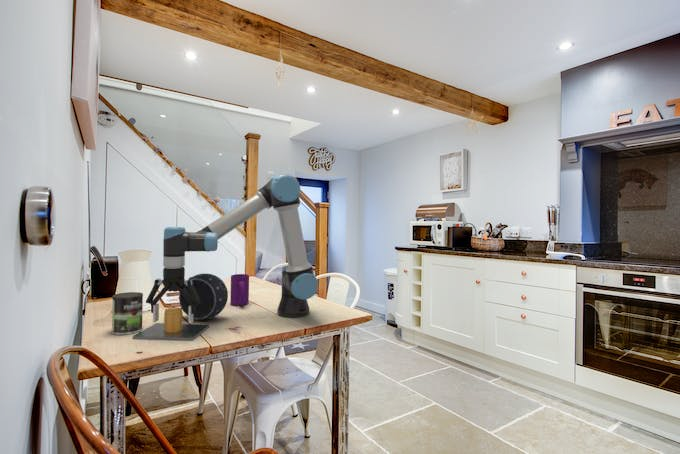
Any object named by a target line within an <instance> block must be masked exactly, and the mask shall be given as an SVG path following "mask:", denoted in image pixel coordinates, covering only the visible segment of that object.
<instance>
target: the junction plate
mask: <svg viewBox="0 0 680 454" xmlns="http://www.w3.org/2000/svg"><path fill="white" fill-rule="evenodd" d="M209 328H210V324H200V323H199V324H198V323H197V324H196V323H182V330H181V331H179V332H174V333H167V332H165V331H164V322H163V323H162V322H161V323H160V322H154V323H153V324H152V325H150V326H148V327H147V328H145V329H142V330H141V331H139V332H136V333H135V334H134V335H132V339H133V340H155V341H156V340H157V341H159V340H160V341H188V342H189V341H190V342H192V341H195V339H197V338H198V337H200V335H202V334H203V333H204V332H205V331H206V330H208V329H209Z"/></svg>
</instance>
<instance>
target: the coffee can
mask: <svg viewBox="0 0 680 454" xmlns="http://www.w3.org/2000/svg"><path fill="white" fill-rule="evenodd" d="M143 296H144V293H143V292H139V291H138V292H135V291H130V292H120V293H116V294H113V295H112V296H111V298H112V309H111V311H112V316H111V317H112V321H111V325H112V327H111V334H113V335H118V336H121V335H122V336H124V335H132V334H137V333H139V332H141V331H143V309H144V308H143V305H144V304H143V301H144V300H143Z"/></svg>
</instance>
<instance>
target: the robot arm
mask: <svg viewBox="0 0 680 454" xmlns="http://www.w3.org/2000/svg"><path fill="white" fill-rule="evenodd" d="M300 194H301V185H300V183H299V180H297V178H296V177H294V176H293V175H291V174H285V173H284V174H278V175H276V176H275V177H273V178H271V179H270V180H269V181H268V182H266V184H264V185H263V186H262V187H261V188H259V189H258V190H256V192H255V195H252V196H251V197H249V198H248V199H247V200H245V201H243V202H242V203H240V204H239V205H237V206H236V207H234V208H232V209H231V210H229V211H228V212H226V213H225V214H223V215H222V216H220V217H218V218H217V219H216V220H214V221H212V222H210V223H209V224H208V225H206V226H205V227H203V228H202V229H200V230H198V231H197V232H193V231H192V232H190V231H189V232H188V231H187V230H186V228H185V227H183V226H180V227H179V226H167V227H165V228H164V229H163V244H162V245H163V254H162V255H163V261H162V263H163V264H162V266H163V267H164V268H163V269H162V270H163V271H162V278H163V279H161V278H157V279H155V280H154V282H153V283H154V284H153V287H152V288H151V290H150V293H149V294H148V296H147V298H146V300H145V304H150V313H151V314H152V323H157V322H159V320H160V318H159V317H160V313H159V312H160V304H159V303H158V302H159V301H160V300H161V298H162V297H164V295H166V293H167V292H177V293H179V294H180V293H181V294H182V295H183V296H184V298H185V299H186V300H187V301H188V303H189V304H190V306H189V312H188V316H187V317H188V323H187V324H192V323H193V322H194V319H193V314H195V312H196V305H197V304H199V303H201V300H200V298H199V296H198V294H197V292H196V290H195V288H194V285H193V280H192V279H191V280H188V279H187V280H186V279H185V276H186V275H185V274H186V273H185V272H186V271H185V270H186V268H185V267H184V266H185V265H186V259H185V257H186V254H185V253H186V252H188V253H189V252H207V253H209V252H215V251H217V250H218V242H219V241H218V240H219V239H221V238H223V237H225V236H226V235H227V234H229V233H230V232H232V231H234V230H235V229H236V228H238V227H239V226H241V225H243V224H244V223H245V222H247V221H248V220H250V219H252V218H254V217H255V216H256V215H257V214H259V213H260V212H262V211H263V210H266V209H270V208H273V210H274V211H275V212H277V214H278V220H279V225H280V230H281V234H282V240H283V245H284V249H285V255H286V259H287V264H288V265H283V267H282V268H281V298H280V300H279V303H278V307H277V313H276V314H277V315H278V316H280V317H283V318H292V319H293V318H302V317H306V316H308V315H309V314H310V306H309V302H308V300H309V299H311V298H313V297H314V296H315V295H316V294H317V291H318V288H319V281H318V279H317V277H316V275H315V274H314V269H313V264H311V263H310V262H309V261H308V255H307V250H306V245H305V241H304V234H303V230H302V224H301V219H300V213H299V207H300V205H301V202H300ZM184 284H186V285H187V286H188V289H189V291H190V293H191V295H192V297H193V298H192V297H191V295H190V294H189V293H188V292H187V290H186V288H185V287H184ZM161 285H163V288H162V289H161V290H160V291H159V289H160V286H161ZM158 291H159V293H158Z"/></svg>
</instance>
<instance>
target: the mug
mask: <svg viewBox="0 0 680 454" xmlns="http://www.w3.org/2000/svg"><path fill="white" fill-rule="evenodd" d="M249 293H250V275H249V274H245V273H244V274H242V273H238V274H237V273H236V274H232V275H230V305H231V306H234V307H242V306H244V307H245V306H247V305H248V304H249V299H250V294H249Z"/></svg>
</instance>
